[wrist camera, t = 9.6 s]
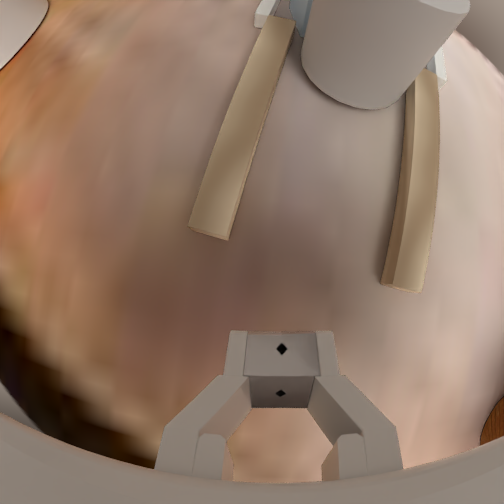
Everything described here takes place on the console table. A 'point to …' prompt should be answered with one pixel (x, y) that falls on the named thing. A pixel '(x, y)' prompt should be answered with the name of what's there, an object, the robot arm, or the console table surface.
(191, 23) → the console table surface
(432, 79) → the slot rails
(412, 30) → the can
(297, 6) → the light blue boxy piece
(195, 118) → the console table surface
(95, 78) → the console table surface
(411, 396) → the console table surface
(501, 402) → the disposable coffee cup
